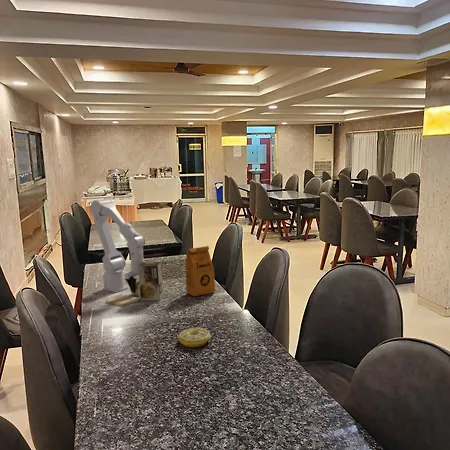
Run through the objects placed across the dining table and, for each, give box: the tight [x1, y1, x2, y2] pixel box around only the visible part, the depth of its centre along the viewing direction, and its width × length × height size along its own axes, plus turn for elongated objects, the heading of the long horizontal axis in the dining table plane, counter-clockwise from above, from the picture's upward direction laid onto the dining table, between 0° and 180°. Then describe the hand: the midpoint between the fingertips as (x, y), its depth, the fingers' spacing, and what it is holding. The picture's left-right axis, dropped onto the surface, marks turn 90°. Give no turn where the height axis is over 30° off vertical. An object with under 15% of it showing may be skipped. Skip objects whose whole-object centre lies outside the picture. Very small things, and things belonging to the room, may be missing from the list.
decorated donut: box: [178, 326, 212, 348], centre depth 139 cm, size 10×11×4 cm
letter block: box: [131, 281, 141, 297], centre depth 190 cm, size 5×5×5 cm
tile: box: [105, 293, 139, 308], centre depth 181 cm, size 11×9×1 cm
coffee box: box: [138, 261, 164, 302], centre depth 182 cm, size 9×6×16 cm
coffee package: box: [184, 245, 216, 297], centre depth 186 cm, size 10×12×22 cm
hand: (139, 289), depth 190 cm, fingers open, 7 cm apart
